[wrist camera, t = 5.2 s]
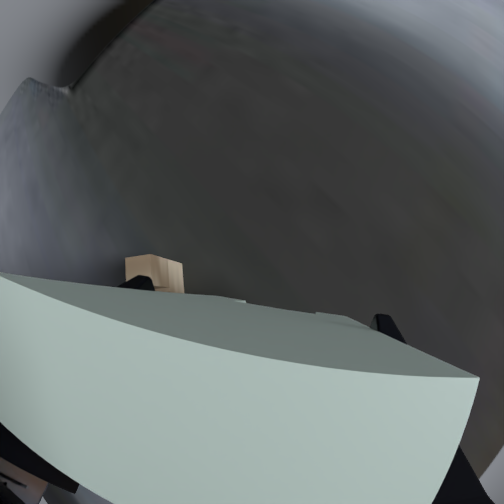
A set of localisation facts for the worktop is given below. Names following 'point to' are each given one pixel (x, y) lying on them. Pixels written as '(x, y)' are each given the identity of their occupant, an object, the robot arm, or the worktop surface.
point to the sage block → (222, 398)
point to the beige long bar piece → (157, 272)
